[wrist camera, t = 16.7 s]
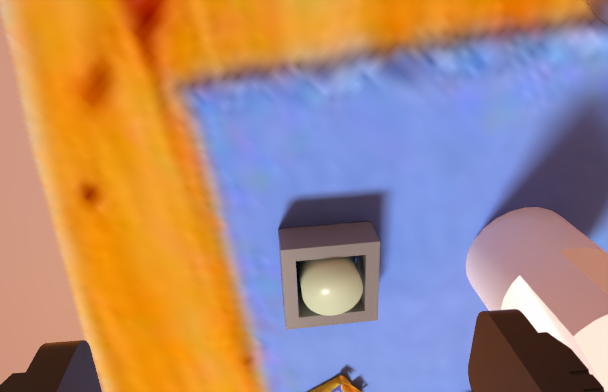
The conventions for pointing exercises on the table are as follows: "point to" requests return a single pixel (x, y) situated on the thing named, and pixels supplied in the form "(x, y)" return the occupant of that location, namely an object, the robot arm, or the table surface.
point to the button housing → (321, 246)
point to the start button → (330, 284)
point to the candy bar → (337, 386)
